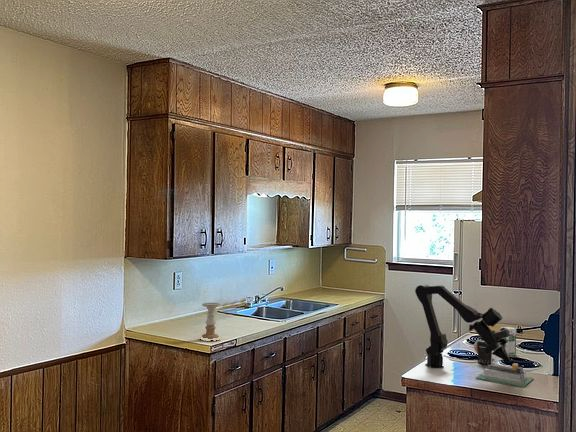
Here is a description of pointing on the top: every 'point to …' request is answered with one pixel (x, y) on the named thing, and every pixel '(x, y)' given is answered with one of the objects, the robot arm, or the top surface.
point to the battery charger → (483, 354)
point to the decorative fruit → (476, 346)
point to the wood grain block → (514, 367)
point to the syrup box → (511, 341)
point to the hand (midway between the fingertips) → (509, 361)
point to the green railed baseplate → (505, 376)
